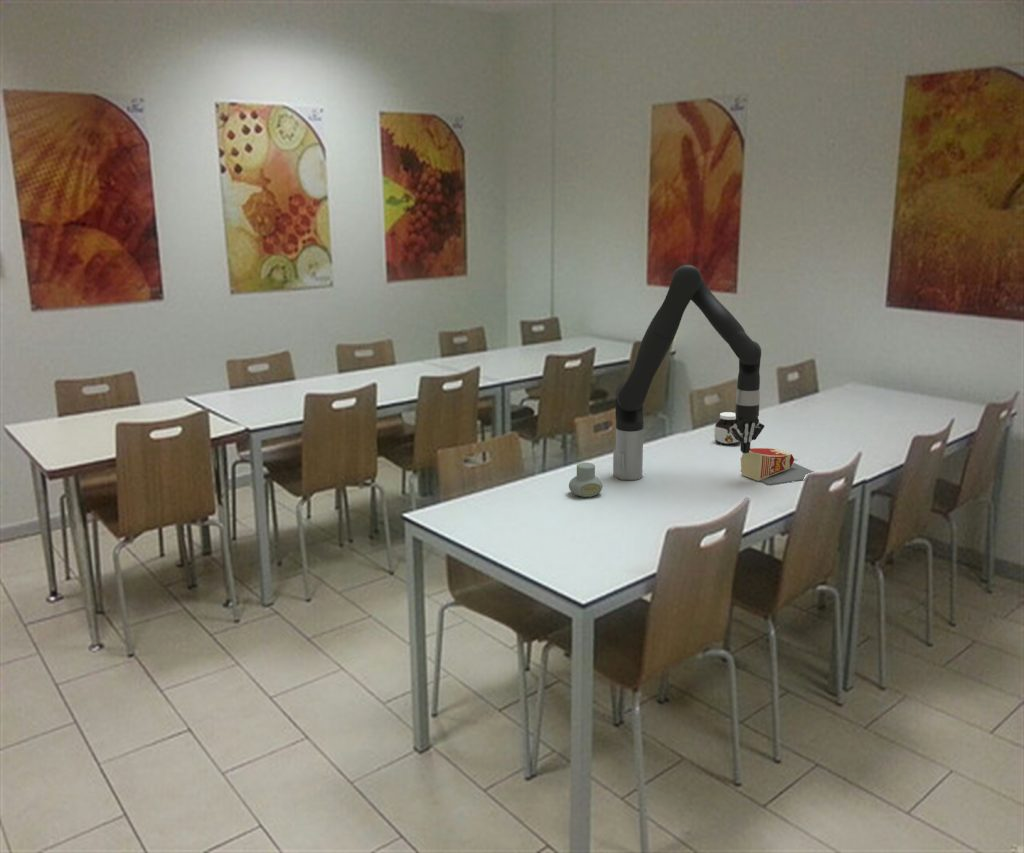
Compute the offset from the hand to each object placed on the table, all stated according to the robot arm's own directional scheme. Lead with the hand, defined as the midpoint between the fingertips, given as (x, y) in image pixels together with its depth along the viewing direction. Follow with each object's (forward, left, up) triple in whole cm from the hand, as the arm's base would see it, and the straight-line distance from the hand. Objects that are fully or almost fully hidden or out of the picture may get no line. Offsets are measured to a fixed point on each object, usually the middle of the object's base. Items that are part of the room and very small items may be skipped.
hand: (745, 452), depth 287 cm
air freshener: (-55, +7, -10) cm, 56 cm away
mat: (+15, 0, -10) cm, 18 cm away
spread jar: (+21, +40, -10) cm, 46 cm away
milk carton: (+2, +1, -5) cm, 5 cm away
